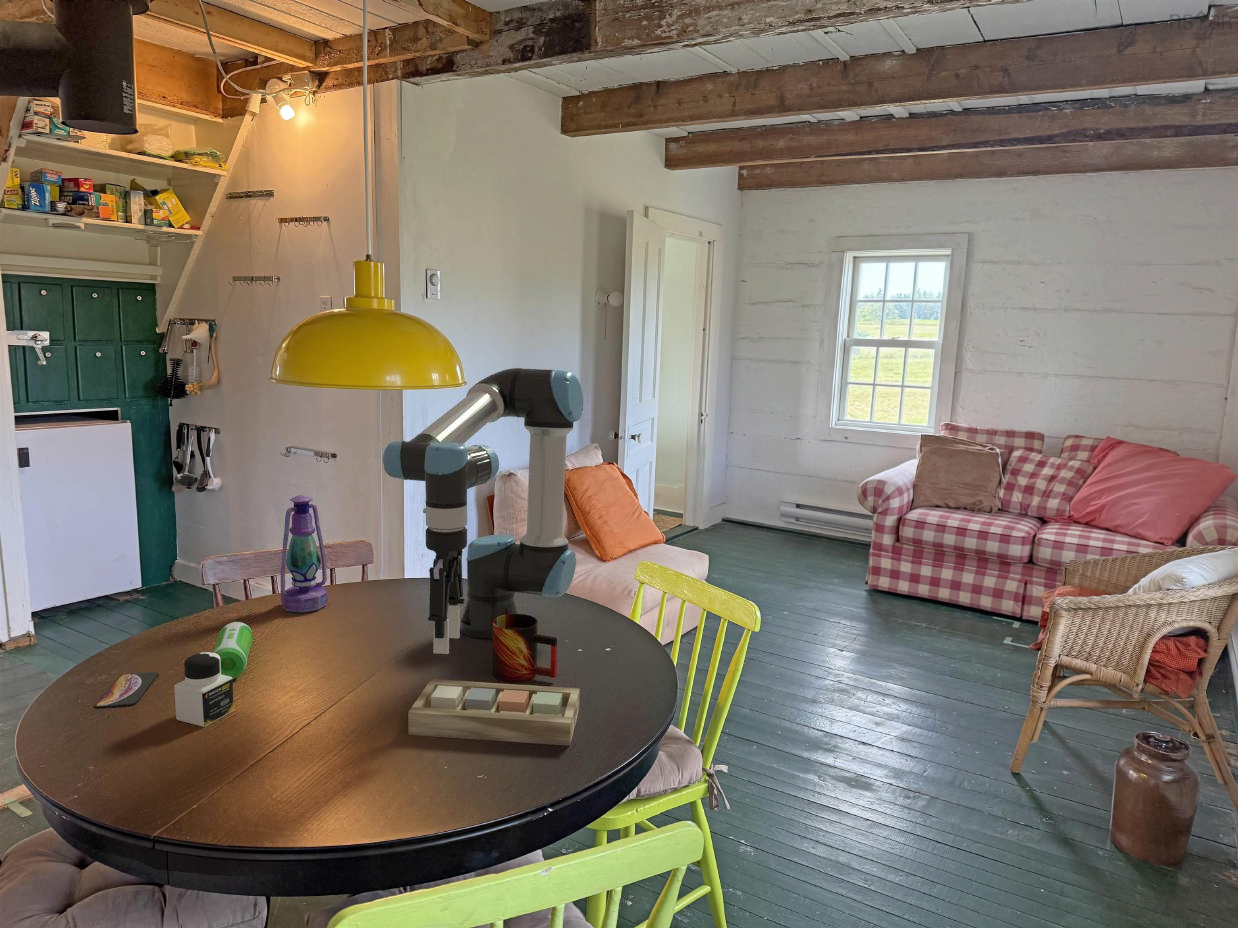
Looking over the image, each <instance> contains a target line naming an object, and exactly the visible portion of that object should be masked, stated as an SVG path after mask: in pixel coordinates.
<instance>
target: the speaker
mask: <svg viewBox="0 0 1238 928" xmlns="http://www.w3.org/2000/svg"><path fill="white" fill-rule="evenodd" d="M253 641H254V635H253V631H252V629H251V627H250V626H249V625H248V624H246V623H244V622H240V621H233V622H230V623H227V624H226V625H224V626H223V627H222V628H221V629H220V631H218V634H217V640H216V642H215V645H214V648H213V650H212V653H216V654H218V655H219V656H220V662H221V675H225V676H230V677H232V680H235V679H236V678H238V677H240V675H242V674H243V672H244V671H245V670H246V668H247V665H248V658H249V655H250V650H251V647H252V644H253Z"/></svg>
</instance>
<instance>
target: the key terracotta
mask: <svg viewBox="0 0 1238 928" xmlns="http://www.w3.org/2000/svg"><path fill="white" fill-rule="evenodd" d="M528 702H529V691H517V690H504V692H503V694H502V696H501V698H500V700H499V711H507V712H522V713H524V712H525V709H526V707H527V704H528Z"/></svg>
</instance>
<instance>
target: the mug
mask: <svg viewBox="0 0 1238 928" xmlns="http://www.w3.org/2000/svg"><path fill="white" fill-rule="evenodd" d="M538 623H539V622H538V619H537V618H536V617H534V616H532V615H529V614H523V613H520V614H507V615H502V616H499V617H497V618H495V619H494V620H493V639H492V650H491V651H492V652H491V653H492V656H491V657H492V660H491V661H492V662H491V663H492V664H491V665H492V666H491V667H492V668H491V670H492V673H491V675H492V677H493V679H494V680H496V681H498V682H500V683H502V684H515V685H518V684H522V683H528V682H530V681H532V680H534V679H535V678H536V677H537V675H539V676H543V677H549V678H552V679H555V678H556V677H557V676H558V675H557V674H558V660H557V657H558V656H557V655H558V637H557V636H556V637H555V636H550V635H544V634H539V633H538V625H539V624H538ZM538 644H541V645H547V646H550V667H544V666H538Z"/></svg>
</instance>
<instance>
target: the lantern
mask: <svg viewBox="0 0 1238 928" xmlns="http://www.w3.org/2000/svg"><path fill="white" fill-rule="evenodd" d="M313 500H314V499H313V498H312V497H310V496H307V495H304V494H297V496H294V497H292V498H289V501H291V502H292V503H293V507H289V508H287V509H286V512H285V516H284V517H285V518H284V529H283V538H282V552H281V553H282V555H281V563H280V600H281V605H282V607H283V609H284V610H285V611H286V612H291V613H298V614H303V613H309V612H314V611H316V612H317V611H318V610H320V609H323V608H324V607H325V606H327V605H328V600H329V594H328V591H327V589H326V588H325V587H324V585H326V583H327V580H328V577H327V575H328V574H327V573H328V572H327V559H326V551H325V545H324V539H323V536H322V531H321V530H322V529H321V527H320V520H319V519H320V518H319V511H318V507H317V505H316V504H313V503H310V502H312V501H313ZM310 509H312V512H313V516H312V513H311V512H310ZM292 512H293V513H292ZM290 519H291V520H290ZM313 519H314V525H315V527H314V526H313ZM290 521H291V523H290ZM290 524H291V526H290ZM315 532H316V536H317V540H318V545H319V546H318V545H317V541H316V540H315V538H314V535H313V534H314V533H315ZM289 534H291V535H292V536H291V538H290V541H289V537H290V536H289ZM288 543H289V544H288ZM318 547H319V550H320V551H319V550H318ZM319 552H320V553H319ZM320 567H321V571H322V573H321V574H322V580H321V581H319V582H317V576H316V575H317V573H318V571H319V569H320ZM286 568H287V570H288V571H289V573H290V574H291V576H292V577H291V580H292V581H291V587H287V588H286V579H285V578H286V575H285V574H286Z"/></svg>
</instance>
